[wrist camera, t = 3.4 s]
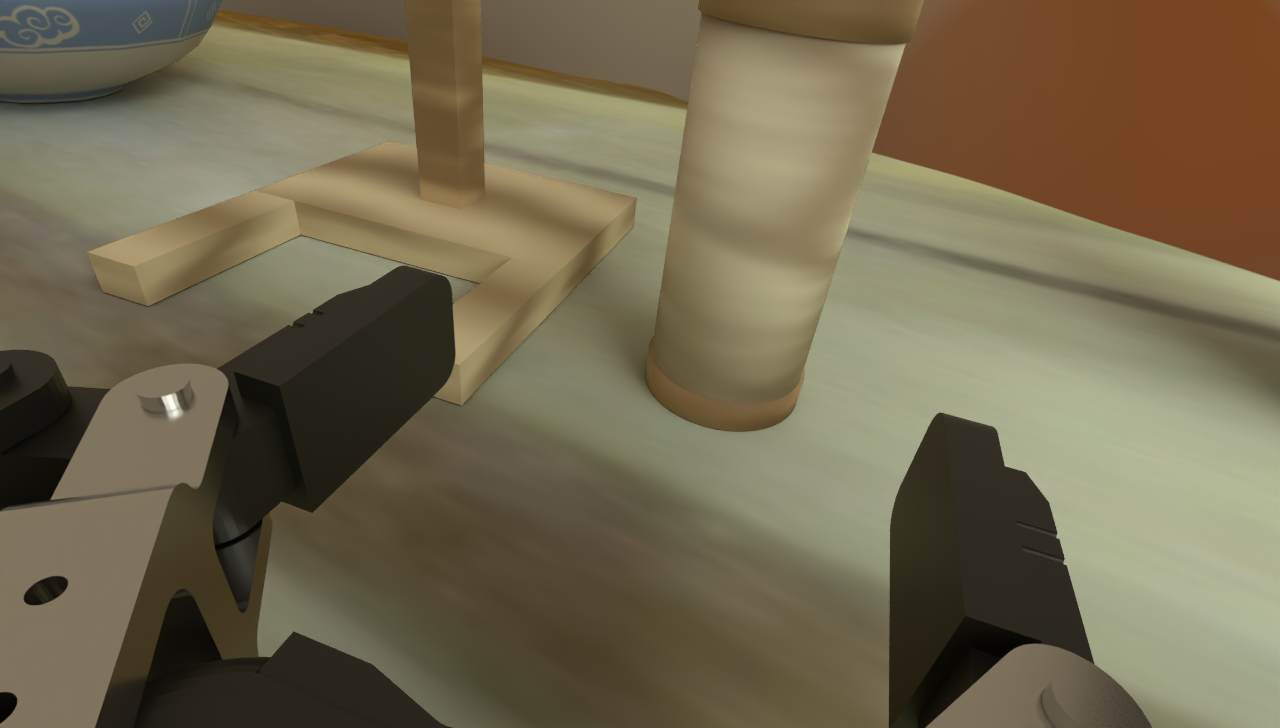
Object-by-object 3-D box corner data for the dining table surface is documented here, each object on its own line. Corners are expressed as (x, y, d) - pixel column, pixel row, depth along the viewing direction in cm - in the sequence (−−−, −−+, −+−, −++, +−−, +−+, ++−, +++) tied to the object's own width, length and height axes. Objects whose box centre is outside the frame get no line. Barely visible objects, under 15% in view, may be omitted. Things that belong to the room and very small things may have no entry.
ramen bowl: (40, 36, 50) (-8, -92, 46) (329, 76, 50) (310, -48, 45) (-427, 110, 30) (-601, -110, 25) (62, 179, 29) (-22, -29, 25)
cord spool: (716, 326, 25) (792, -33, 18) (827, 395, 22) (966, -4, 15) (614, 367, 22) (659, -46, 15) (725, 454, 19) (844, -12, 12)
